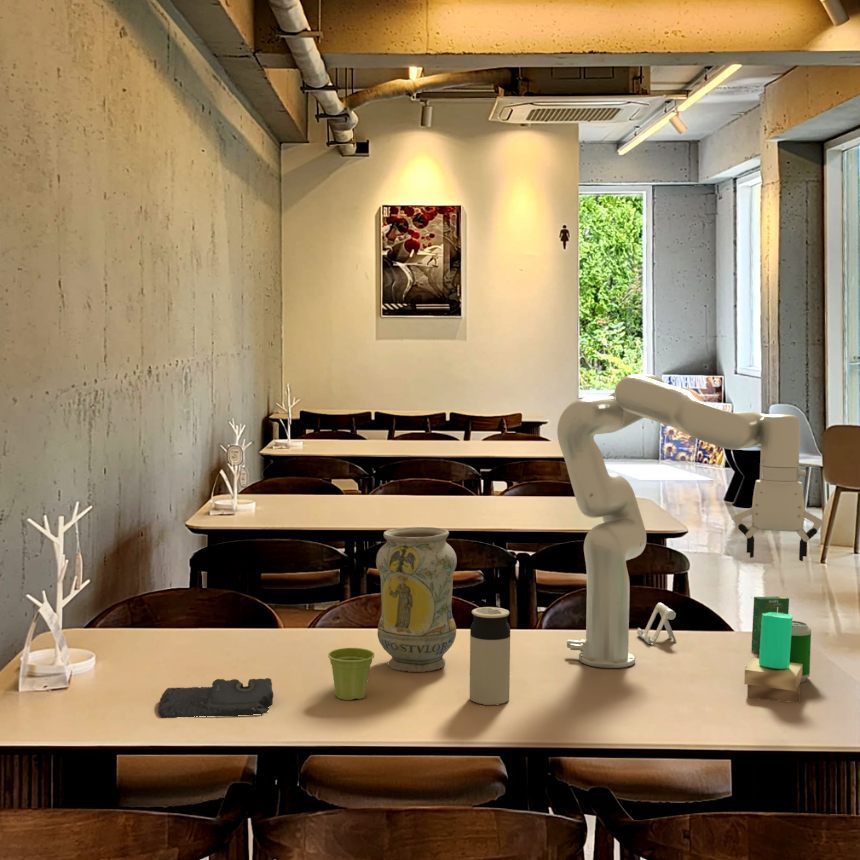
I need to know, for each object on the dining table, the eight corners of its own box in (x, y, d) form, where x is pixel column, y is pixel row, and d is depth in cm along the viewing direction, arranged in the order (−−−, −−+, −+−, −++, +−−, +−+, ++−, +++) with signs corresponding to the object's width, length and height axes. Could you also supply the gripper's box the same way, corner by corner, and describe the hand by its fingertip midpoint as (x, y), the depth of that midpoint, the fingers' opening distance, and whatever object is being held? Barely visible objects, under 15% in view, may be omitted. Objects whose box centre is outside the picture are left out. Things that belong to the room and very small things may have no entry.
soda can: (812, 684, 231) (813, 628, 230) (774, 682, 233) (776, 626, 232) (807, 674, 238) (808, 620, 238) (771, 672, 240) (772, 618, 239)
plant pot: (381, 692, 223) (381, 650, 223) (363, 705, 214) (363, 662, 214) (339, 687, 226) (339, 645, 226) (320, 700, 217) (320, 657, 217)
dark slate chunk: (164, 696, 221) (164, 673, 220) (274, 693, 223) (274, 670, 223) (154, 721, 205) (154, 697, 205) (272, 718, 208) (272, 693, 208)
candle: (779, 662, 228) (783, 605, 228) (794, 669, 223) (798, 610, 223) (753, 661, 227) (757, 604, 227) (767, 668, 221) (771, 609, 221)
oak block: (744, 684, 223) (744, 669, 222) (752, 671, 232) (753, 657, 231) (795, 691, 218) (796, 676, 218) (802, 678, 227) (802, 664, 227)
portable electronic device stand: (637, 636, 270) (637, 603, 270) (667, 635, 271) (668, 602, 271) (647, 645, 262) (648, 611, 261) (679, 644, 263) (680, 610, 262)
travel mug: (482, 708, 213) (483, 617, 212) (462, 696, 221) (463, 608, 219) (516, 702, 217) (518, 613, 216) (496, 691, 224) (497, 605, 223)
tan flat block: (747, 699, 222) (747, 685, 222) (749, 686, 231) (749, 672, 231) (799, 705, 219) (799, 690, 219) (798, 691, 228) (799, 676, 228)
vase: (361, 670, 239) (362, 534, 237) (394, 650, 255) (395, 522, 253) (438, 680, 232) (439, 540, 230) (467, 658, 248) (468, 528, 247)
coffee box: (781, 649, 259) (783, 594, 258) (788, 652, 256) (789, 597, 255) (750, 651, 257) (752, 596, 257) (756, 654, 255) (758, 598, 254)
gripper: (823, 475, 223) (820, 558, 224) (735, 471, 228) (733, 552, 230) (824, 479, 216) (821, 564, 217) (734, 475, 221) (731, 558, 222)
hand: (776, 558), depth 223 cm, fingers open, 9 cm apart
